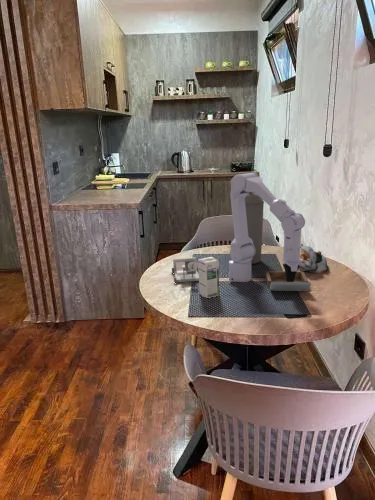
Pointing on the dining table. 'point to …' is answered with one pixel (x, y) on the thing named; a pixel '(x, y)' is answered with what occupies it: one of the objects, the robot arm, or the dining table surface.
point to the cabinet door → (290, 285)
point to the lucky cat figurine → (312, 260)
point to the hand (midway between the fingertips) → (290, 283)
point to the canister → (255, 222)
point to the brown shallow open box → (284, 278)
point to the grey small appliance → (185, 270)
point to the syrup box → (209, 277)
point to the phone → (295, 315)
